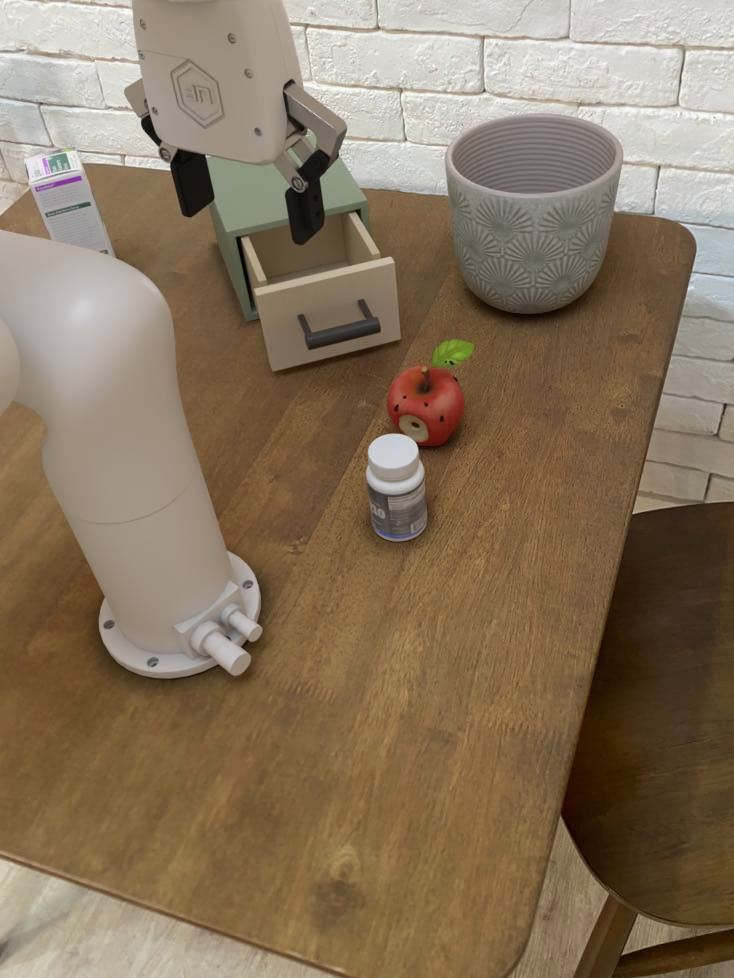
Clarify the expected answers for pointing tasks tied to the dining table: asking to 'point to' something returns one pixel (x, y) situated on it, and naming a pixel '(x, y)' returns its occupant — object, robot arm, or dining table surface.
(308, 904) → the dining table surface
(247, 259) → the drawer
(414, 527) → the pill bottle
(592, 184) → the planter
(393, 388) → the apple
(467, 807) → the dining table surface
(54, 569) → the dining table surface
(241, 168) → the cabinet
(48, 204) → the syrup box
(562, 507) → the dining table surface
